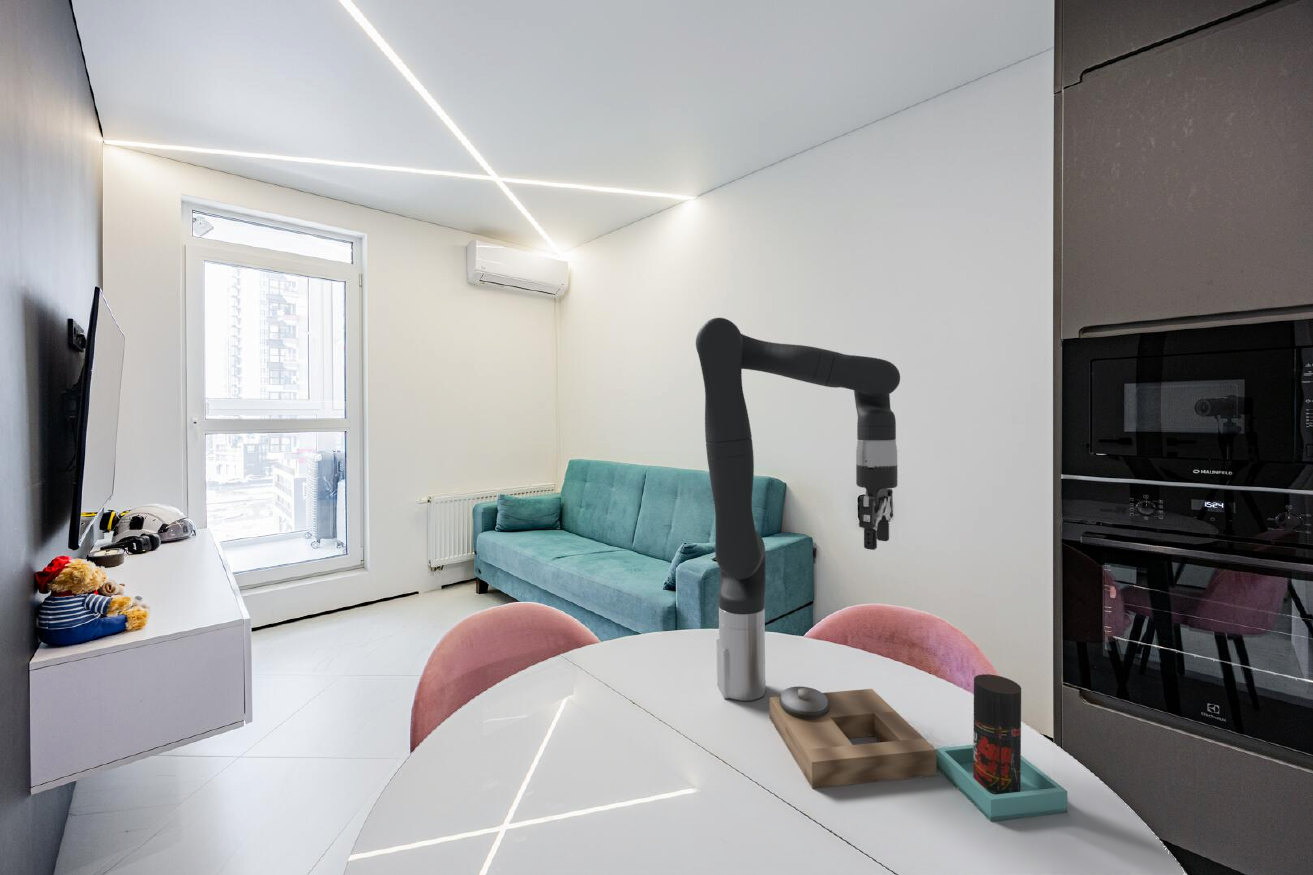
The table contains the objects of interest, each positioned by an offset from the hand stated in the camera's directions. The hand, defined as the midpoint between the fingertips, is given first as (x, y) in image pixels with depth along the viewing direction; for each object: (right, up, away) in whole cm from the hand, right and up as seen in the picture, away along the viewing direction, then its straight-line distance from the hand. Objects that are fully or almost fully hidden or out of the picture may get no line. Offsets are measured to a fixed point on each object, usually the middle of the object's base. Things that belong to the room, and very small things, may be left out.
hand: (876, 544), depth 106 cm
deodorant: (+7, -30, -26) cm, 41 cm away
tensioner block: (-12, -31, -15) cm, 36 cm away
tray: (+7, -31, -26) cm, 41 cm away
